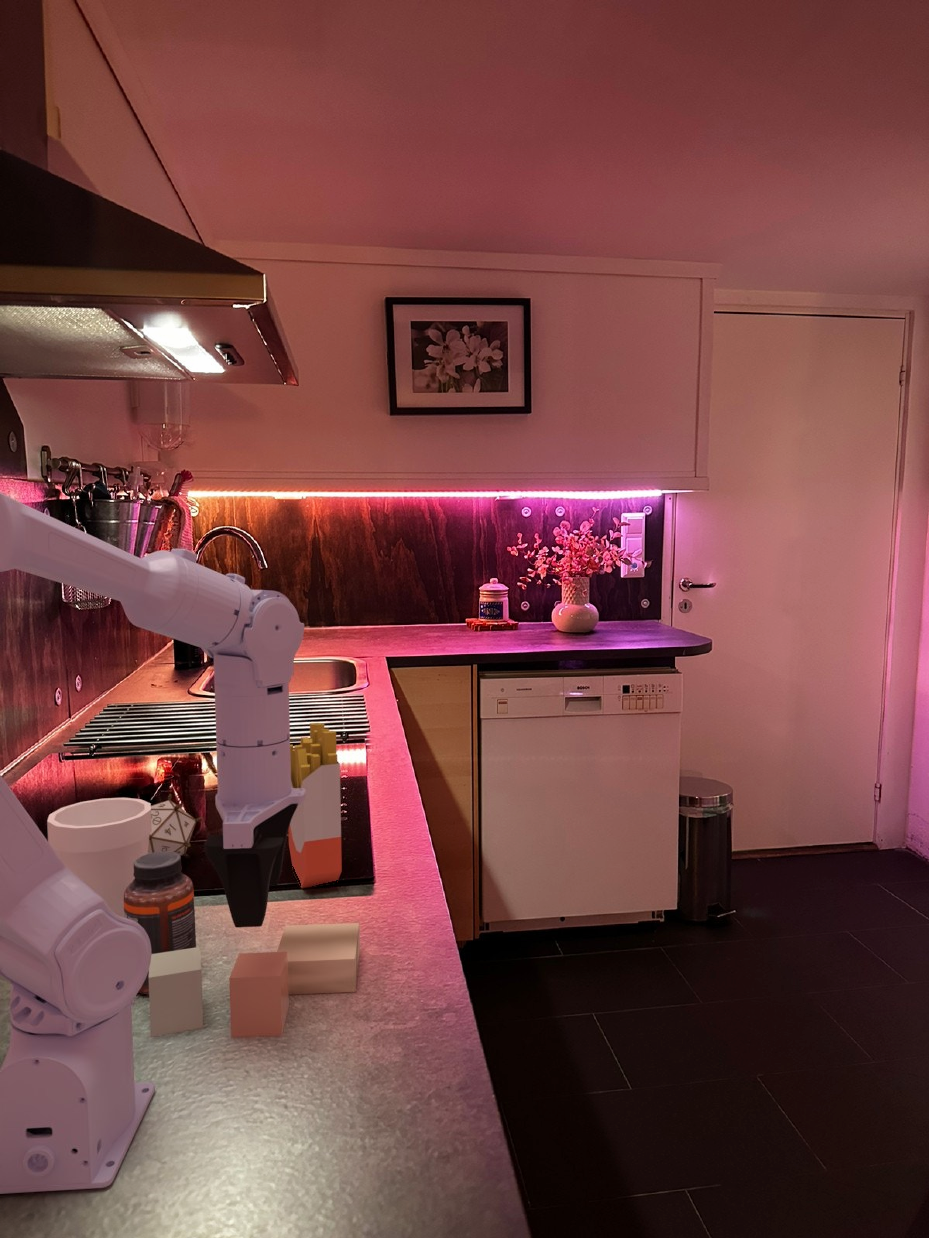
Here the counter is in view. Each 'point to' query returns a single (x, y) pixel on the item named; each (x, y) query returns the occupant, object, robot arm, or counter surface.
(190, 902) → the supplement bottle
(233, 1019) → the terracotta block
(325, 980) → the birch slab
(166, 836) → the game die
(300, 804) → the french fries container
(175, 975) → the beige block
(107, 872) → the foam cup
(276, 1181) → the counter surface
